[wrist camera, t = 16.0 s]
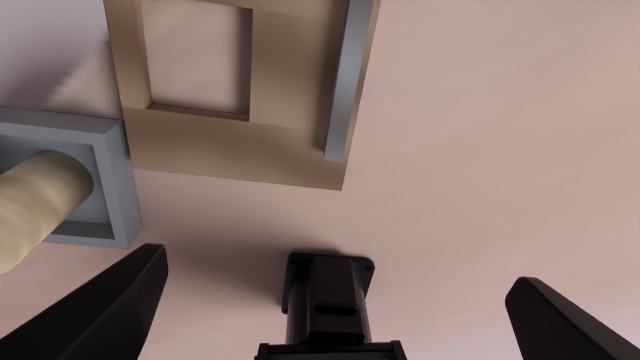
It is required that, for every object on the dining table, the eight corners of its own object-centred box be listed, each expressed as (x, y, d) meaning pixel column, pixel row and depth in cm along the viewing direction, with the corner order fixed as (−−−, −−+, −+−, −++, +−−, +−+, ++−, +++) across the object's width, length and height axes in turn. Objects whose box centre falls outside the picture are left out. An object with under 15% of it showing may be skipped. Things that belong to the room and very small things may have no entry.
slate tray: (142, 229, 22) (128, 249, 21) (18, 217, 22) (-7, 237, 20) (123, 120, 18) (103, 134, 17) (-30, 102, 18) (-67, 114, 16)
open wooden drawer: (340, 182, 21) (342, 200, 19) (140, 160, 20) (124, 176, 18) (425, -237, 12) (444, -275, 10) (63, -322, 11) (15, -382, 9)
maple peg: (99, 204, 21) (28, 277, 15) (39, 198, 20) (-54, 271, 15) (86, 154, 19) (1, 217, 14) (20, 146, 18) (-93, 209, 13)
